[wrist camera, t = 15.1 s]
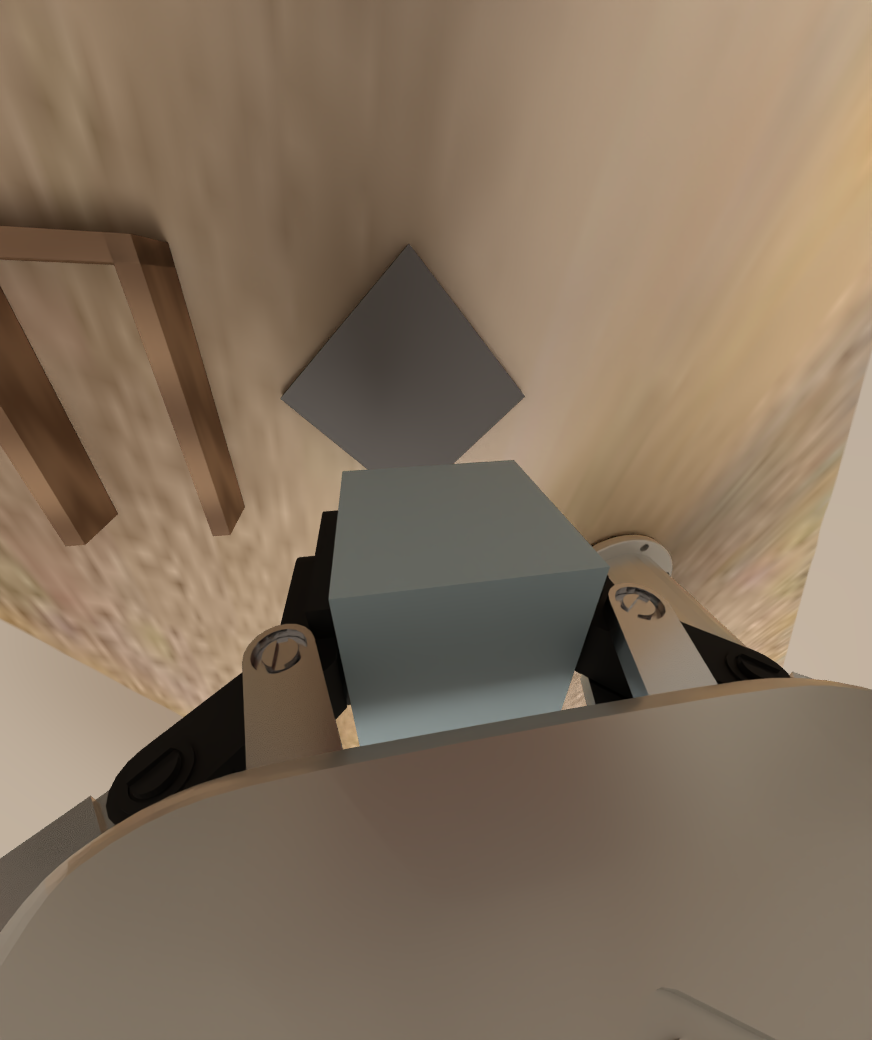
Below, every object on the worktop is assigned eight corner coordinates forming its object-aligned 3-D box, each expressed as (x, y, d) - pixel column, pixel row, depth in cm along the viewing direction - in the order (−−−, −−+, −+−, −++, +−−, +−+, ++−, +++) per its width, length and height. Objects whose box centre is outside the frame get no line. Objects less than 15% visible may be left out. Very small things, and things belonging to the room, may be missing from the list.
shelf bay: (244, 507, 26) (230, 535, 23) (100, 515, 24) (65, 546, 21) (167, 242, 18) (130, 233, 15) (-56, 229, 16) (-147, 217, 13)
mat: (520, 393, 25) (525, 396, 24) (409, 498, 28) (410, 503, 27) (407, 245, 19) (409, 243, 19) (282, 395, 22) (280, 398, 21)
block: (493, 622, 14) (545, 755, 10) (367, 639, 14) (369, 789, 10) (514, 460, 11) (610, 566, 7) (342, 471, 10) (328, 600, 6)
